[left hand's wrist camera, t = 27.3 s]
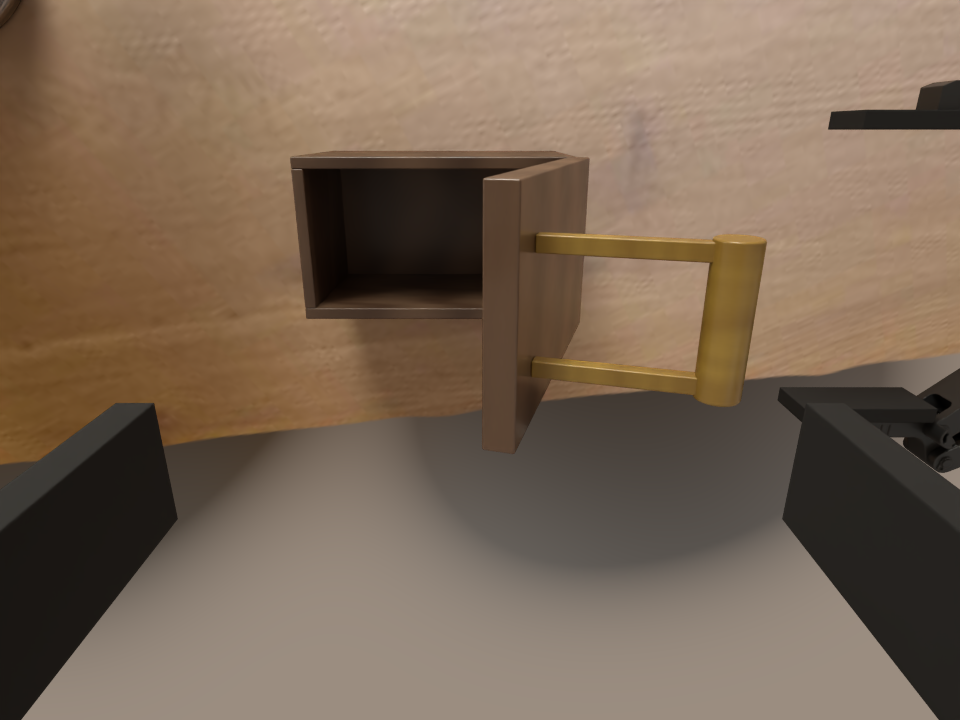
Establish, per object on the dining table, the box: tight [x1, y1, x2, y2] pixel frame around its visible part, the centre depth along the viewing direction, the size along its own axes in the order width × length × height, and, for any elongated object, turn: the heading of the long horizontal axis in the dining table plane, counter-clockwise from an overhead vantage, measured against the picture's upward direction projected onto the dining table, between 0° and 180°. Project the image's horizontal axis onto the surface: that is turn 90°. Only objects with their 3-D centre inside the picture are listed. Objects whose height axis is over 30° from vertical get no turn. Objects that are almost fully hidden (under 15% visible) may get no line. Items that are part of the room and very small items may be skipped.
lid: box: [482, 157, 767, 454], centre depth 28 cm, size 18×10×9 cm
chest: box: [290, 151, 574, 319], centre depth 43 cm, size 17×10×11 cm, turn 90°
